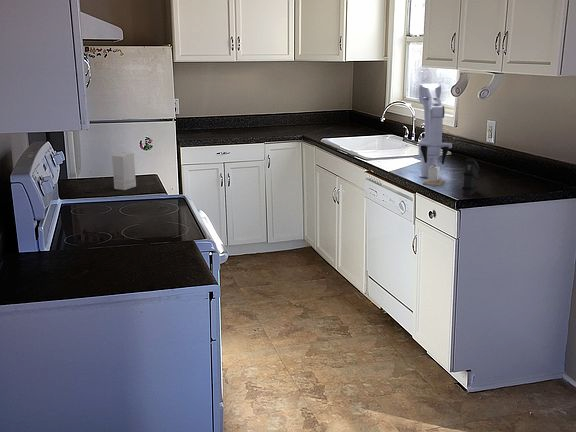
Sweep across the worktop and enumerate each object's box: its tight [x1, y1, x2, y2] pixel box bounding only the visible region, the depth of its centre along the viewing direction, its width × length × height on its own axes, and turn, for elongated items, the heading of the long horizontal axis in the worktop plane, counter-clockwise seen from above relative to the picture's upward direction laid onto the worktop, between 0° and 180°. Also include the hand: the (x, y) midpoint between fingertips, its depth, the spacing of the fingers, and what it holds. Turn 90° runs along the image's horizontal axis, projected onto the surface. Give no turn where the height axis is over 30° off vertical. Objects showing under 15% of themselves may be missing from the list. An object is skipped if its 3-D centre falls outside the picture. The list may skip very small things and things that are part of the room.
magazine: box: [461, 158, 481, 197], centre depth 278 cm, size 4×13×15 cm, turn 151°
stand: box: [422, 177, 445, 187], centre depth 299 cm, size 8×8×2 cm
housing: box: [427, 165, 441, 182], centre depth 298 cm, size 6×4×7 cm, turn 158°
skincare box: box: [111, 152, 137, 191], centre depth 297 cm, size 8×7×16 cm
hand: (434, 163), depth 297 cm, fingers open, 7 cm apart
